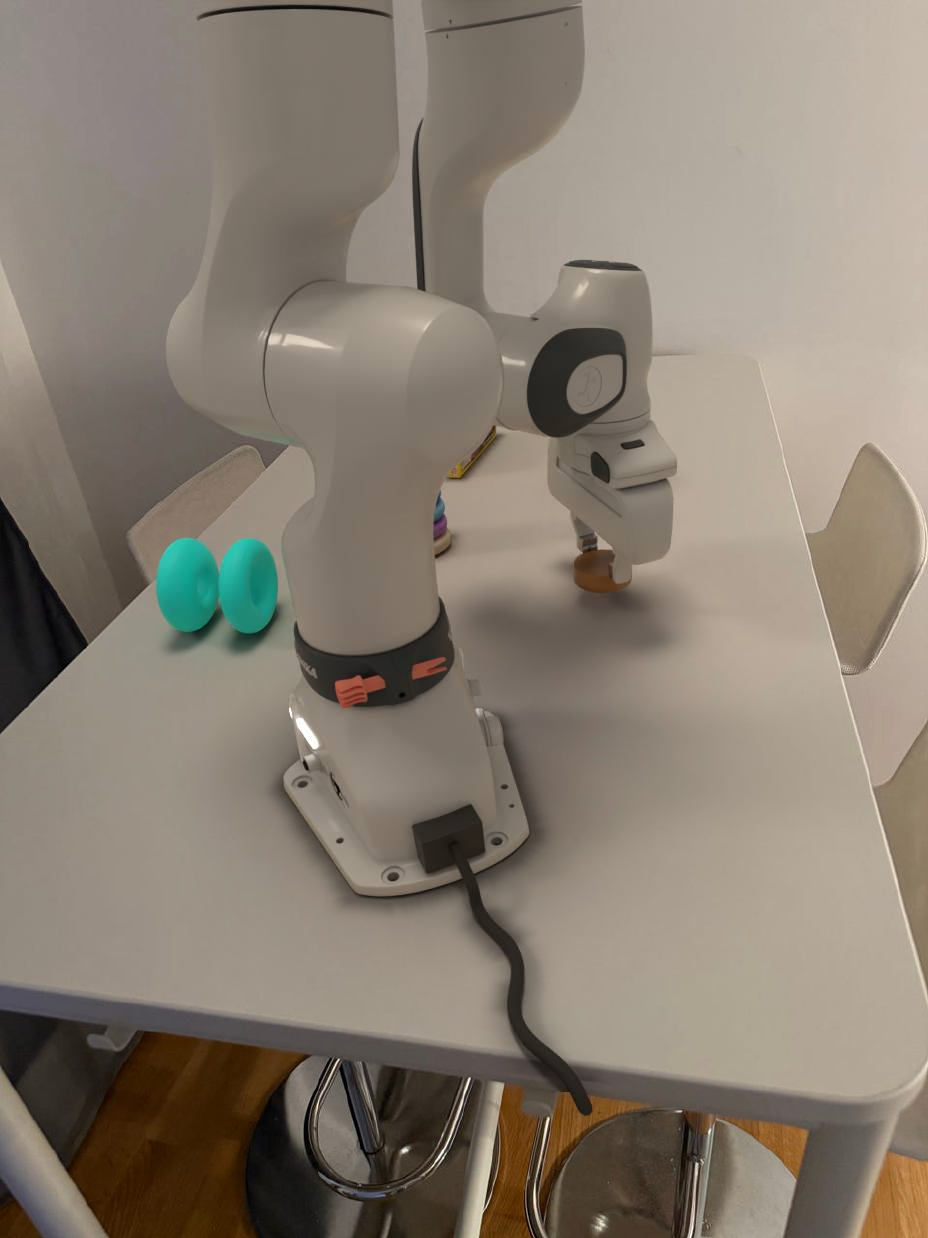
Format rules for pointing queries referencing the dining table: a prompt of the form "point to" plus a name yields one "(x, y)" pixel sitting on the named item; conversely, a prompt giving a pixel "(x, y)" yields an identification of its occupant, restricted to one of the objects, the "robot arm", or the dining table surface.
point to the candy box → (472, 456)
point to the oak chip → (596, 572)
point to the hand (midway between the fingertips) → (603, 565)
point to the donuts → (217, 585)
